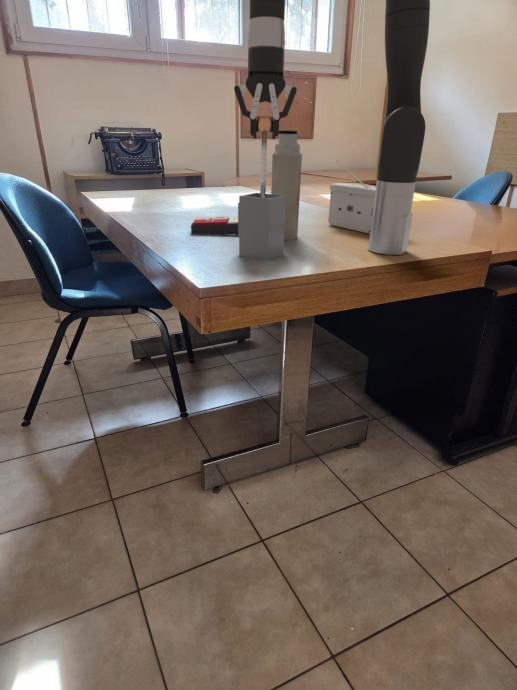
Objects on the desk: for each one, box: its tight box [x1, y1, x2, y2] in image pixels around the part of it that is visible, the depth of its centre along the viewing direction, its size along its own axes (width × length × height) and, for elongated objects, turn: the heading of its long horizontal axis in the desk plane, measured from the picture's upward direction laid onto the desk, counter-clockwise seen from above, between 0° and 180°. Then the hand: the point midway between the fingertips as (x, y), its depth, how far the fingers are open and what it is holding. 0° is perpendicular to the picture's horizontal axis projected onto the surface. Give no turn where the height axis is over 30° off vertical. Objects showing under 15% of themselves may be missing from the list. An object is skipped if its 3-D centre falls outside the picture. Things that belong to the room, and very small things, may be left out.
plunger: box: [256, 115, 274, 198], centre depth 103 cm, size 6×6×20 cm
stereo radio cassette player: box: [327, 160, 376, 235], centre depth 140 cm, size 21×8×20 cm, turn 37°
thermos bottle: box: [270, 129, 303, 241], centre depth 125 cm, size 8×8×28 cm
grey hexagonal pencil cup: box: [237, 192, 286, 261], centre depth 109 cm, size 10×8×14 cm
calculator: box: [190, 215, 238, 236], centre depth 136 cm, size 11×4×15 cm
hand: (264, 138), depth 100 cm, fingers closed on plunger, 3 cm apart
